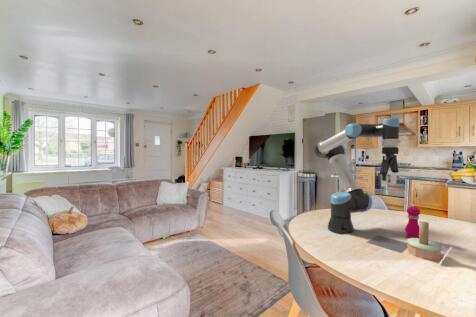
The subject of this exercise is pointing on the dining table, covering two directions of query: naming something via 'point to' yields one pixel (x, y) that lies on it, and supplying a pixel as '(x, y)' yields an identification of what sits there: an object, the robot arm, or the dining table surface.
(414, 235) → the pepper mill
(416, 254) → the bowl
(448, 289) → the dining table surface
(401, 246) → the mat
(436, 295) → the dining table surface
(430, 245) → the plunger
